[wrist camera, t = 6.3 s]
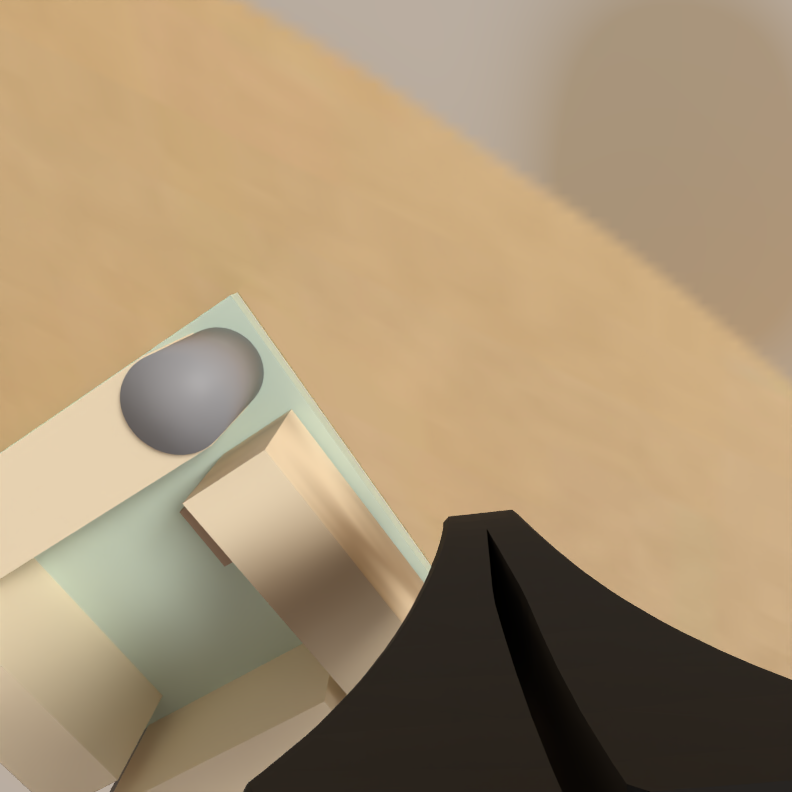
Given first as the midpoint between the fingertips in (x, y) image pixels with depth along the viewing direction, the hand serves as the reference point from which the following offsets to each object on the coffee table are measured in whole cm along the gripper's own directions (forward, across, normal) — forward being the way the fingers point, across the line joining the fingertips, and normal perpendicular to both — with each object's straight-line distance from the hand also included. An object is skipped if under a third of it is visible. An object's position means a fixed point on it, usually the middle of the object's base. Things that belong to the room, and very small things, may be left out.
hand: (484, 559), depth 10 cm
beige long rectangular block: (+5, +4, +3) cm, 7 cm away
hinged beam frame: (+6, +9, +3) cm, 11 cm away
